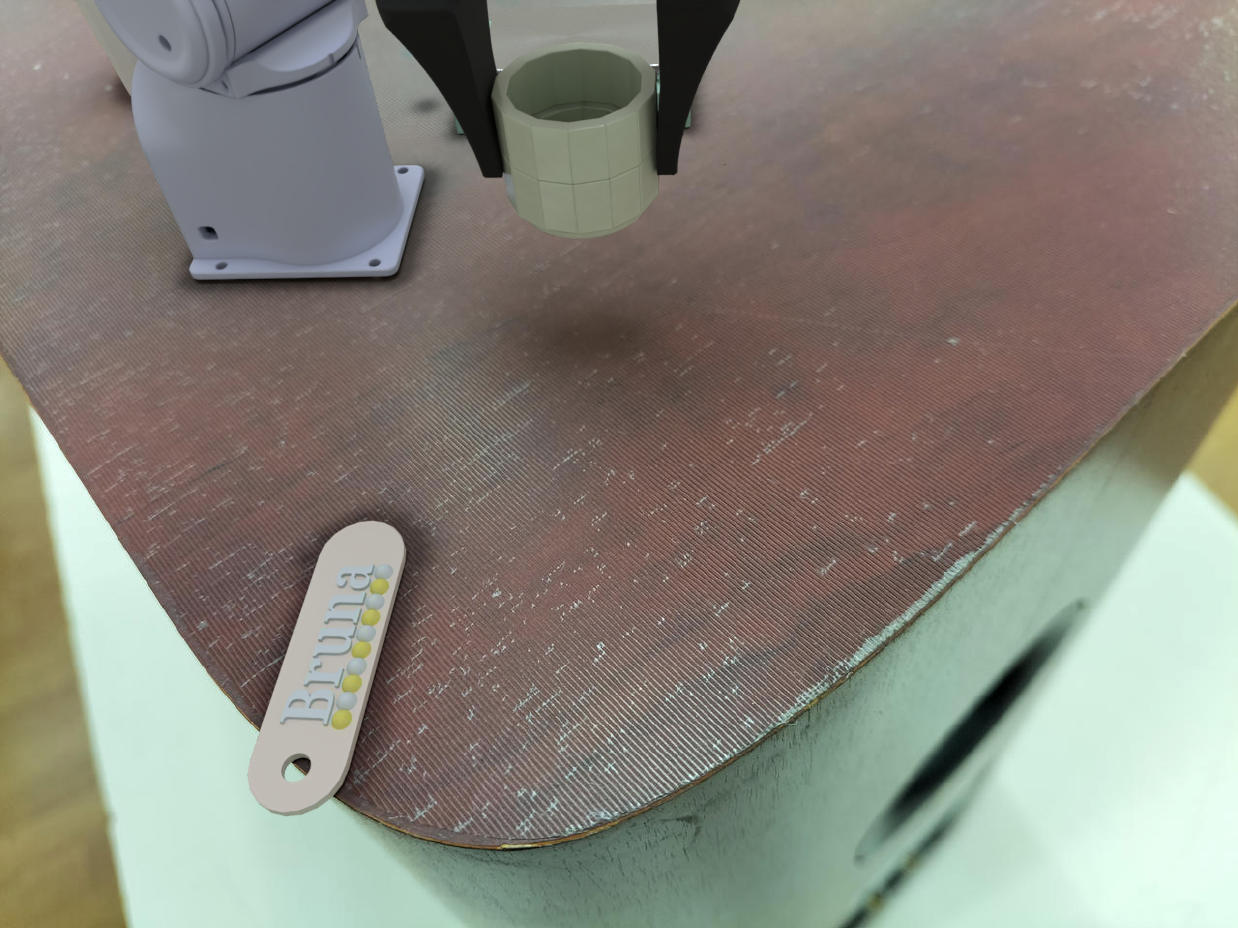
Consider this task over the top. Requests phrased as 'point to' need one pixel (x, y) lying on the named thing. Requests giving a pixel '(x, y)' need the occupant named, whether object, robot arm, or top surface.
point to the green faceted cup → (578, 137)
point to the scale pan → (575, 30)
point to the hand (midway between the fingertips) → (580, 160)
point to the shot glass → (109, 42)
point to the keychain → (328, 669)
